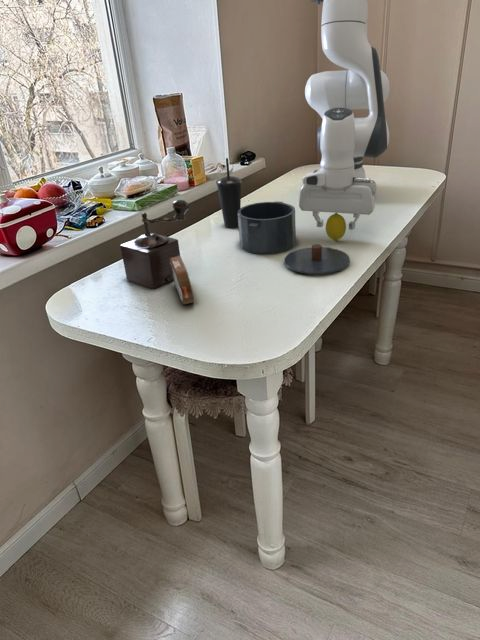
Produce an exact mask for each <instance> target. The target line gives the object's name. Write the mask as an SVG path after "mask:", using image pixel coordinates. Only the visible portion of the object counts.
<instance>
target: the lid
mask: <svg viewBox="0 0 480 640" xmlns="http://www.w3.org/2000/svg"><path fill="white" fill-rule="evenodd" d="M350 260H351V258H350V256H349V255H348V254H347V253H346V252H344V251H342V250H340V249H337V248H333V247H326V246H323V245H322V244H320V243H319V244H318V243H316V244H312V245H311V247H304V248H299V249H296V250H294V251H291V252H289V253H288V254H287V255H286V256H285V257H284V265H285V266H286V268H288V269H290V270H292V271H294V272H297V273H300V274H306V275H326V274H327V275H328V274H333V273H335V272H339V271H341V270H344V269H346V268H347V267H348V266H349V264H350Z"/></svg>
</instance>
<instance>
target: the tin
mask: <svg viewBox="0 0 480 640" xmlns="http://www.w3.org/2000/svg"><path fill="white" fill-rule="evenodd" d="M170 264H171V266H172V271H173V278H174V279H173V281H174V285H175V288H176V291H177V294H178V297H179V299H180V301H181V304H182V305H187V304H192V303H193V304H194V303H195V299H194V293H193V292H194V291H193V288H192V283H191V281H190V280H191V279H190V276H189V274H188V271H187V267H186V266H185V263H184V261H183V259H182V257H181V254H180V255H179V256H177V257H172V258H170Z"/></svg>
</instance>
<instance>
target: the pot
mask: <svg viewBox="0 0 480 640" xmlns="http://www.w3.org/2000/svg"><path fill="white" fill-rule="evenodd" d="M238 225H239V227H238V236H239V245H240V246H239V247H240V249H242V250H243V251H245V252H247V253H251V254H256V255H274V254H279V253H284V252H287V251H290V250H292V249H293V248H294V247H295V245H296V244H297V235H296V233H297V232H296V229H297V228H296V208H295V206H293V205H292V204H289V203H285V202H283V201H277V200H276V201H260V202H255V203H250V204H246V205H243V206H242V207H241V209H239V210H238Z"/></svg>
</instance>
